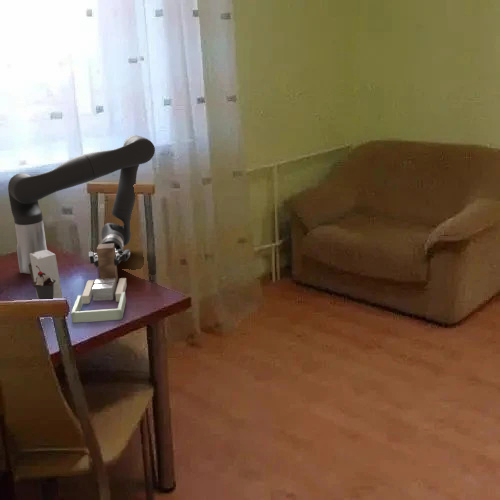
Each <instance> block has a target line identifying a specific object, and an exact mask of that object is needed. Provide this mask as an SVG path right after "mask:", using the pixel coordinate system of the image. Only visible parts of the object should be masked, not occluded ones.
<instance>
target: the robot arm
mask: <svg viewBox="0 0 500 500" xmlns="http://www.w3.org/2000/svg"><path fill="white" fill-rule="evenodd" d="M155 153H156V147H155V145H154V143H153V141H151V140H150V139H148V138H146V137H143V136H140V135H138V134H137V135H136V134H135V135H130V136H129V137H127V138H126V139H125V140H124V143H123V146H120V147H117V148H114V149H108V150H99V151H93V152H88V153H84V154H81V155H78V156H75V157H73V158H70V159H68V160H65V161H64V162H63V163H61V164H59V165H58V166H57V167H55V168H54V169H51V170H49V171H46V172H43V173H39V174H35V175H29V174H28V173H23V172H22V173H21V172H20V173H16V174H15V175H13V176H12V177H11V178H10V179H9V181H8V185H7V189H8V192H7V193H8V198H9V199H8V200H9V204H10V209H11V211H10V212H11V214H12V216H13V220H14V227H15V234H16V240H17V245H16V253H17V261H18V267H19V268H18V269H19V273H20V274H28V275H31V274H30V270H29V266H28V265H29V263H31V260H30V253H34V252H38V251H42V250H48V248H47V242H46V233H45V225H44V219H43V217H44V216H43V212H42V210H41V208H40V205H39V200H42V199H43V198H46V197H48V196H50V195H53V194H55V193H56V192H60V191H62V190H63V191H64V190H66V189H70V188H72V187H75V186H79V185H80V186H81V185H82V184H85V183H89V182H91V181H95V180H96V179H99V178H101V177H104V176H108V175H109V174H112V173H115V172H117V171H120V173H119V179H118V185H117V190H116V193H115V198H114V201H113V206H112V210H111V216H113V217H115V218H117V219H118V220H120V221H122V223H123V225H122V226H120V225H121V224H118V225H117V223H113V222H107V223H105V224H104V225H103V227H102V229H101V235H100V237H101V239H102V240H101V243H100V244H111V243H114V246H115V258H114V263H115V266H118V265H120V263H121V261H122V262H127V261H128V260H129V258H130V257H131V249H130V248H126V249H124V247H125V246H127V245H128V244H129V243H130V242H131V239H130V238H132V231H131V232H130V220H131V221H132V215H133V211H132V210H134V206H135V202H136V198H135V197H136V195H137V194H136V195H135V193H134V187H133V185H134V184H136V185H137V174H138V169H139V167H140V165H143V164H146V163H148V162H150V161H151V160H152V159H153V157H154V155H155ZM131 214H132V215H131ZM129 241H130V242H129ZM88 258H89V259H88V260H89V263H90V264H91V265H94V267H96V268H99V264H98V255H97V252H93V251H92V250H90V251H88Z"/></svg>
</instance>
